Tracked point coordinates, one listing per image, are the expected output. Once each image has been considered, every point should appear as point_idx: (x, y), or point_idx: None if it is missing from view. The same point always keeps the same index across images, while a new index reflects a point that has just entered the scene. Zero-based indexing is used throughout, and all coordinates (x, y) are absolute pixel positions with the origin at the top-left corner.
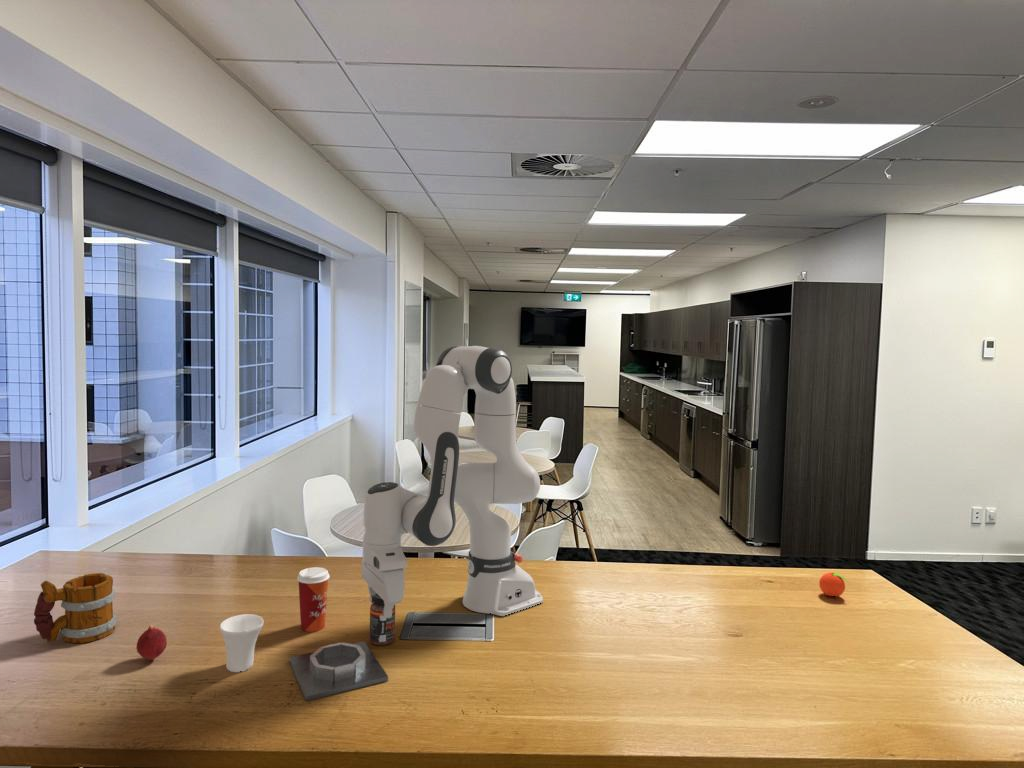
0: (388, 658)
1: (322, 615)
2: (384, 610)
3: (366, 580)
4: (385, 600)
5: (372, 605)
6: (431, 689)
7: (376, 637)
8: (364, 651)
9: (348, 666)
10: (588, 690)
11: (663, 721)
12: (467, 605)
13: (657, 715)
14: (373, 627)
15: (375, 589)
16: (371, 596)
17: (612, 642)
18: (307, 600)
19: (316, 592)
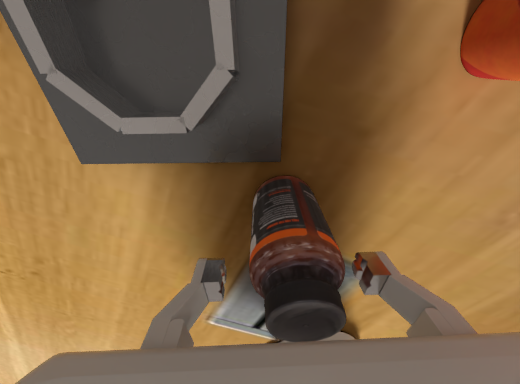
0: (195, 189)
1: (518, 53)
2: (192, 283)
3: (488, 359)
4: (56, 376)
5: (306, 254)
6: (58, 221)
7: (261, 193)
8: (222, 146)
9: (27, 44)
10: (69, 343)
11: (14, 357)
12: None
13: (25, 358)
14: (271, 202)
15: (277, 372)
16: (378, 275)
17: None
18: None
19: None
